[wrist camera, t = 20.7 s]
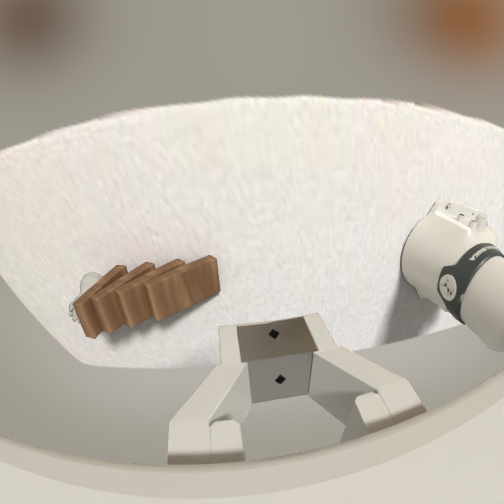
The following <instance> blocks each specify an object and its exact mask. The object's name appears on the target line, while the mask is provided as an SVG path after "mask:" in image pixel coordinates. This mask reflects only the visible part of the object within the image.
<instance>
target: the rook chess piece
mask: <svg viewBox="0 0 504 504" xmlns="http://www.w3.org/2000/svg"><path fill="white" fill-rule="evenodd" d="M101 278H102V276H101V275H100V274H97V273H95V272H89V273H87V274H85V275H84V277H83V278H82V280H81V283H80V294H79V296H78V297H76V298H75V301H76V300H77V299H78V298H79V297H80V296H81V295H82V294H84V293H85V292H86V291H87V290H88V289H89V288H90V287H92V286H93V285H94V284H95V283H96V282H97V281H99V280H100V279H101ZM75 301H73V302H71V303H70V305H69V311H70V313H69V315H70V317H71V316H73V319H72V320H73V321H76V320H78V323H80V321H79V319H78V317H77V314H76V312H75V309H74V307H73V304H72V303H74V302H75Z"/></svg>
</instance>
